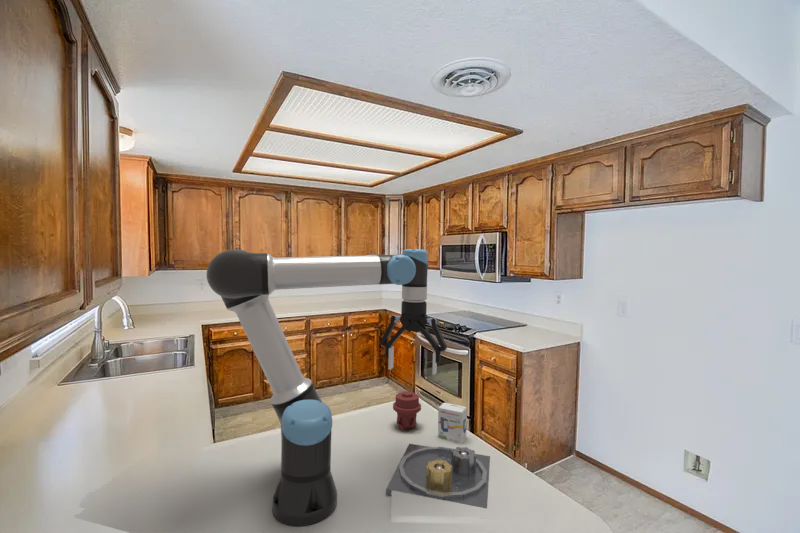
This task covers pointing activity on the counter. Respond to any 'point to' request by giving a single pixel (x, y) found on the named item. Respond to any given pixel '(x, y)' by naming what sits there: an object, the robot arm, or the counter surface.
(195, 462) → the counter surface
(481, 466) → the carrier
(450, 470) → the planet gear
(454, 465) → the seated gear
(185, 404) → the counter surface
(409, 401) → the mechanical component
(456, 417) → the ink box
